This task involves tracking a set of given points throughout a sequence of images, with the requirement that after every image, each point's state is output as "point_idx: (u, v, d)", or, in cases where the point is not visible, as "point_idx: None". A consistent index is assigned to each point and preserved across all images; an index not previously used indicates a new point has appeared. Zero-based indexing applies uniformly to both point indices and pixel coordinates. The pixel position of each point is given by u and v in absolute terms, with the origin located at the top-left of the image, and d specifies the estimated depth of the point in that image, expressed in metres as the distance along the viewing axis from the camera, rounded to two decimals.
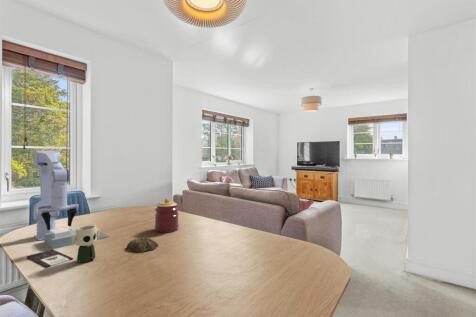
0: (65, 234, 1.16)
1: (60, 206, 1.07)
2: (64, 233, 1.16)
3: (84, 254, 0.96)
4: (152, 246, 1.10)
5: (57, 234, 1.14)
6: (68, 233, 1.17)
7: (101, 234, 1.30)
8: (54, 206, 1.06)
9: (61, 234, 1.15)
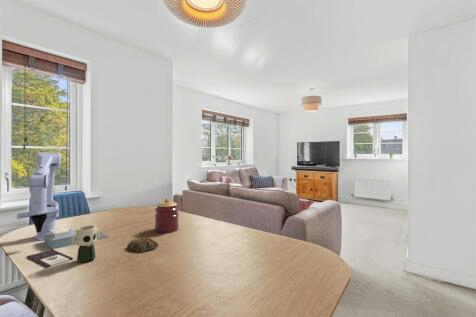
0: (65, 234, 1.16)
1: (39, 211, 1.10)
2: (64, 233, 1.16)
3: (84, 254, 0.96)
4: (152, 246, 1.11)
5: (57, 234, 1.14)
6: (68, 233, 1.17)
7: (101, 234, 1.30)
8: (33, 211, 1.09)
9: (61, 234, 1.15)
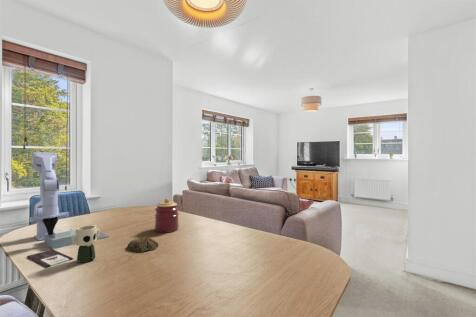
0: (65, 234, 1.16)
1: (51, 214, 1.13)
2: (64, 233, 1.16)
3: (84, 254, 0.96)
4: (153, 246, 1.11)
5: (57, 234, 1.14)
6: (68, 233, 1.17)
7: (101, 234, 1.30)
8: (45, 214, 1.12)
9: (61, 234, 1.15)
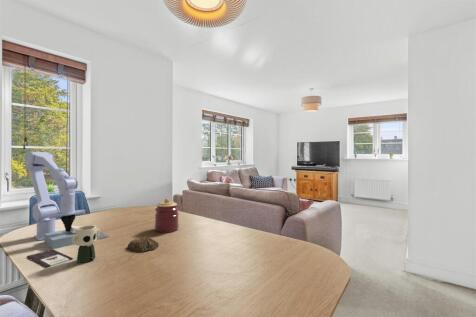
0: None
1: (69, 212, 1.19)
2: None
3: (84, 254, 0.96)
4: (153, 246, 1.11)
5: (75, 229, 1.19)
6: None
7: (101, 234, 1.30)
8: (63, 212, 1.18)
9: None
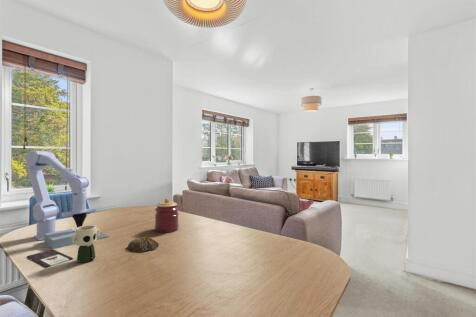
0: None
1: (80, 210, 1.22)
2: None
3: (84, 254, 0.96)
4: (153, 246, 1.11)
5: None
6: None
7: (101, 234, 1.30)
8: (75, 210, 1.22)
9: None
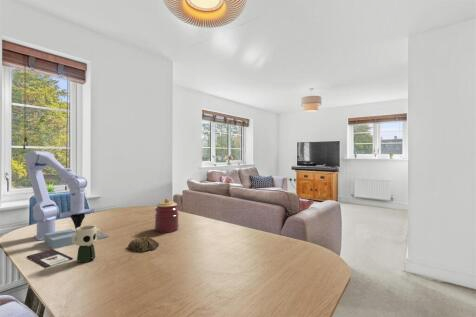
0: None
1: (79, 210, 1.22)
2: None
3: (84, 254, 0.96)
4: (153, 246, 1.11)
5: None
6: None
7: (101, 234, 1.30)
8: (73, 210, 1.21)
9: None
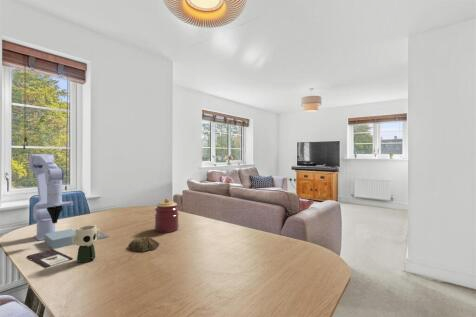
0: None
1: (55, 202, 1.15)
2: None
3: (84, 254, 0.96)
4: (153, 246, 1.11)
5: None
6: None
7: (101, 234, 1.30)
8: (49, 202, 1.14)
9: None
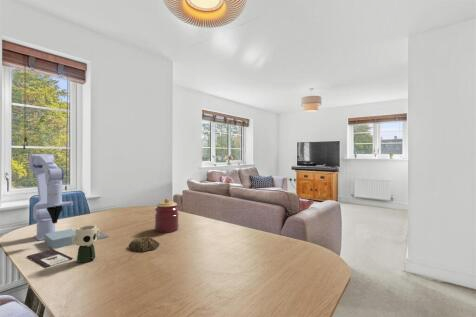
0: None
1: (55, 202, 1.15)
2: None
3: (84, 254, 0.96)
4: (154, 246, 1.11)
5: None
6: None
7: (101, 234, 1.30)
8: (49, 202, 1.14)
9: None
